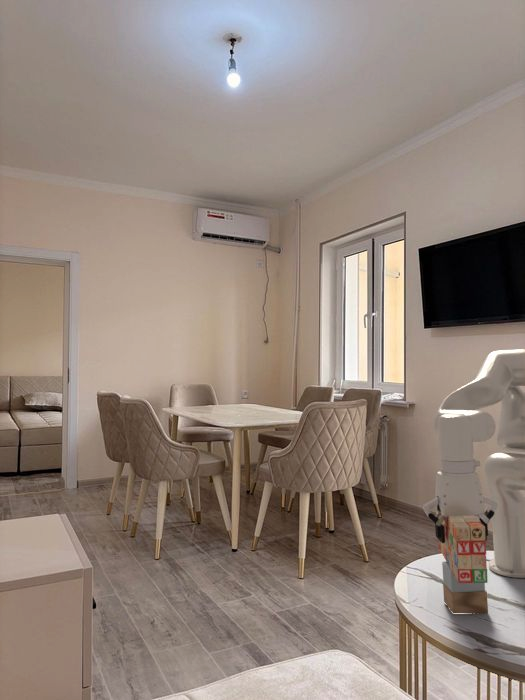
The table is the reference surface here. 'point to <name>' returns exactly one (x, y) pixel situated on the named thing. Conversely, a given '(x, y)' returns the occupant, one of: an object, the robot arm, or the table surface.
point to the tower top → (458, 587)
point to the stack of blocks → (465, 548)
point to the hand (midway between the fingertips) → (462, 540)
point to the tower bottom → (466, 601)
